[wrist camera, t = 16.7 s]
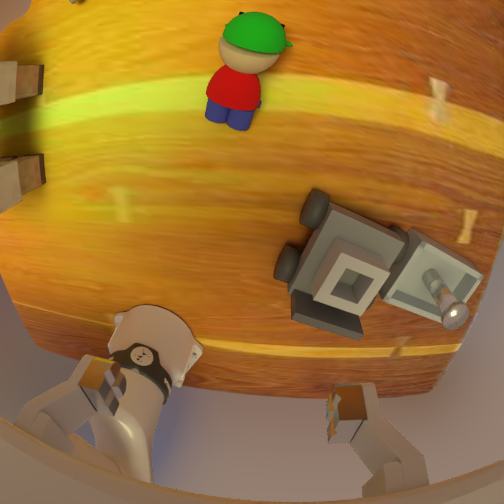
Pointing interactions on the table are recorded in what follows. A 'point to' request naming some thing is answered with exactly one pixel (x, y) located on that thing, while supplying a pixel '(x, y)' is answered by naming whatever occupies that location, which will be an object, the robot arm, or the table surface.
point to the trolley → (338, 266)
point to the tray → (412, 268)
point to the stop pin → (445, 300)
